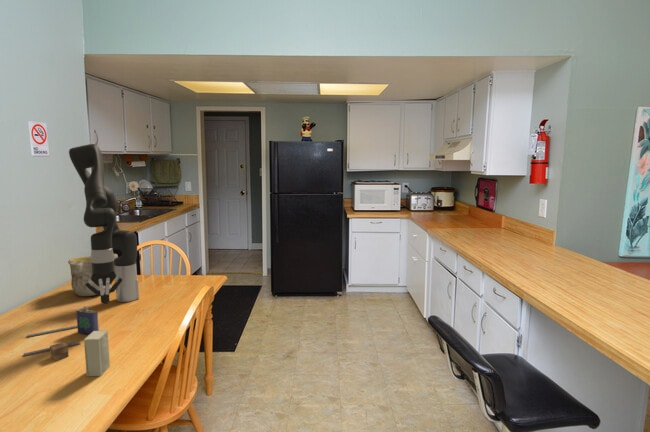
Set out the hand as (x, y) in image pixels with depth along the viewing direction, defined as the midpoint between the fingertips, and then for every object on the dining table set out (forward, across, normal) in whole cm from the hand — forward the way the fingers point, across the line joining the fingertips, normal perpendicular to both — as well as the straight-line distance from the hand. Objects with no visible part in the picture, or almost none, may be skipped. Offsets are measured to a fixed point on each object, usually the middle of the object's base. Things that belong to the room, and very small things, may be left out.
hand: (105, 303), depth 149 cm
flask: (+11, +6, 0) cm, 12 cm away
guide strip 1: (+10, +17, -8) cm, 22 cm away
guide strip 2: (+11, +17, +9) cm, 22 cm away
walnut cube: (+11, +15, +16) cm, 25 cm away
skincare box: (+11, +5, +34) cm, 36 cm away
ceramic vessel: (+10, +2, -55) cm, 56 cm away
